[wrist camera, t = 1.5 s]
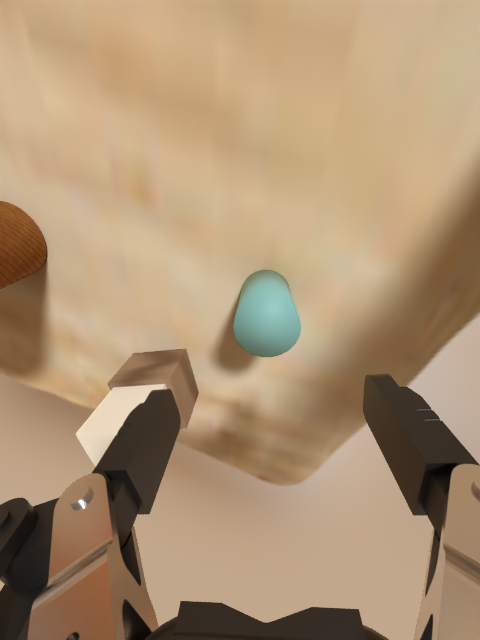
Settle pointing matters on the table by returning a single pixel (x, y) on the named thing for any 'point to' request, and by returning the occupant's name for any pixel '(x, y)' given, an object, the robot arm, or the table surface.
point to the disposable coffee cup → (19, 245)
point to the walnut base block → (162, 377)
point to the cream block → (111, 418)
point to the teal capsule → (266, 315)
